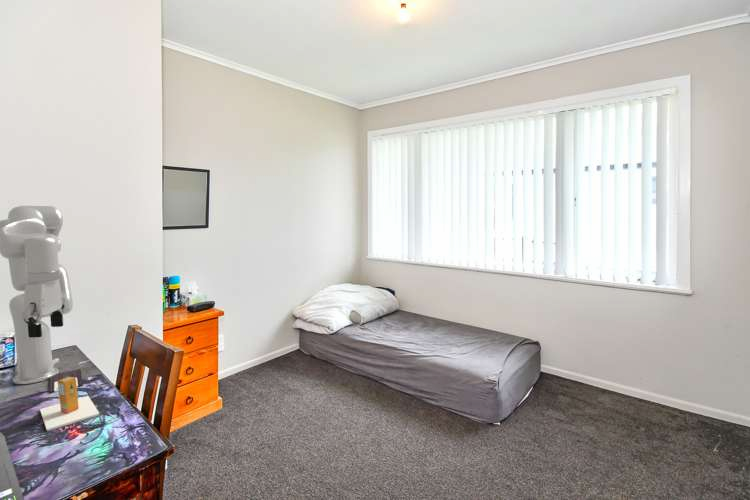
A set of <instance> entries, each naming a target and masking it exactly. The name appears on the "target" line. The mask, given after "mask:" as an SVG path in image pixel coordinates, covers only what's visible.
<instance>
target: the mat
mask: <svg viewBox="0 0 750 500" xmlns="http://www.w3.org/2000/svg"><path fill="white" fill-rule="evenodd" d="M78 406H79V408H78V409H77V410H74V411H72V412H70V413H68V414H67V413H63V412H61V407H60V403H57V404H54V405H50V406H45V407H42V408H40V409H39V411H40V414H41V417H42V420H43V424H44V426H45V429H46V431H47V432H49V431H52V430H57V429H59V428H62V427H65V426H69V425H72V424H74V423H78V422H82V421H84V420H89V419H91V418H95V417H98V416H100V412H99V410H98V409H97V407H96V406H95V404H94V402H93V401H92V400H91V398H90V396H89V395H86V396H83V397H78Z"/></svg>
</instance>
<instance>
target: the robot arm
mask: <svg viewBox="0 0 750 500" xmlns="http://www.w3.org/2000/svg"><path fill="white" fill-rule="evenodd" d="M7 217H8V218H6V219H1V220H0V255H1V256H2V257H3V258H5V259H8V265H9V273H10V279H11V285H12V288H13V289H14V290H16V291H18V292H24V293H21V294H18V295H15V296H13V297H12V298H11V299H10V300H9V304H8V306H9V312H10V315H11V318H12V323H13V328H14V336H15V348H16V350H15V351H16V361H17V363H16V364H17V372H18V373H17V375H15V376H14V377H12V384H15V385H29V384H35V383H39V382H43V381H46V380H50V378H51V377H53V376H55V375H56V374H58V373H59V369H58V368H56V367H54V366H55V365H57V364H58V363H60V358H58V357H55V358H53V354H52V351H53V350H52V338H51V329H50V327H52V328H61V327H63V326H64V315H66V314H68V313H70V312H71V311H72V310H73V307H74V305H73V304H74V301H73V295H72V290H71V284H70V280H69V274H68V271H67V269H66V267H65V266H64V265H63V264H60V263H59V252H60V251H61V247H62V243H61V239H60V238H58V237H59V234H60V232H61V229H62V228H63V223H64V218H63V215H62V212H61V210H60V209H58V208H57V207H56V206H52V205H51V206H50V205H18V206H14V207H13V208H12V209H10V211H9V212H8V214H7ZM47 317H50V326H49V325H48V324H47V323H45V322H44V321H42V318H47Z"/></svg>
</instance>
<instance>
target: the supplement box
mask: <svg viewBox="0 0 750 500" xmlns="http://www.w3.org/2000/svg"><path fill="white" fill-rule="evenodd" d="M77 388H78V387H77V386H76V378H73V377H67V378H64V379H62V380H59V381H58V389H59V392H58V396H59V404H60V407H61V412H63V413H67V414H68V413H70V412H72V411H74V410H77V409H78V408H79V406H78V399H79V397H78V389H77Z"/></svg>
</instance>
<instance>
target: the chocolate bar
mask: <svg viewBox="0 0 750 500" xmlns="http://www.w3.org/2000/svg"><path fill="white" fill-rule="evenodd" d="M67 377H73V378H76V386H77V388H81V387H84V385H83V383H84V382H83V377H82V370H81V368H78V369H74V370H69V371H64V372H58V374H56V375H55V376H53V377H51V378H50V379H49V385H48V386H49V389H48V394H54V393H59V389H58V381H59V380H62V379H64V378H67ZM80 386H81V387H80Z"/></svg>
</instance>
